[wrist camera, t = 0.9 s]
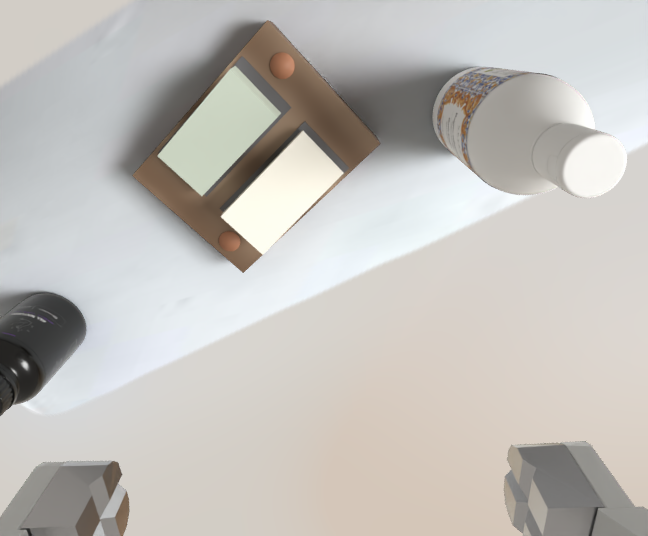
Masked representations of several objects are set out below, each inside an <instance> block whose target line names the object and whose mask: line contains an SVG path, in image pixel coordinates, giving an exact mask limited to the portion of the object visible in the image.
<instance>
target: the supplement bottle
mask: <svg viewBox="0 0 648 536" xmlns="http://www.w3.org/2000/svg"><path fill="white" fill-rule="evenodd" d="M85 335H86V323H85V319H84V317H83V315H82V313H81V312H80V310H79V309H78V308H77V307H76V306H75V305H74V304H73V303H72V302H70V301H69V300H67V299H65V298H63V297H61V296H58V295H55V294H50V293H40V294H35V295H32V296H30V297H28V298H26V299H25V300H23V301H22V302H21V303H19V304H18V305H17V306H15V307H14V308H13V309H12V310H10V311H9V312H8V313H6V314H5V315H4V316H3V317H1V318H0V416H1V415H2V414H3V413H4V412H5V411H6V410H7V409H9V408H10V407H11V406H12V405H14V404H20V403H23V402H26V401H28V400H30V399H32V398H33V397H34V396H36V395H37V394H38V393H39V392H40V391H41V390H42V388H43V387H44V386H45V385H46V384H47V383H48V382H49V380H50V379H51V378H52V377H53V376H54V375H55V374H56V372H57V371H58V370H59V369H60V368H61V367H62V366H63V364H64V363H65V362H66V361H67V360H68V359H69V358H70V357H71V355H72V354H73V353H74V352H75V351H76V350H77V348H78V347H79V346H80V345H81V343H82V342H83V340H84V338H85Z"/></svg>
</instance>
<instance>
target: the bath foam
mask: <svg viewBox="0 0 648 536" xmlns="http://www.w3.org/2000/svg"><path fill="white" fill-rule="evenodd" d="M433 126H434V130H435V133H436V135H437V137H438V139H439V140H440V142H441V143H442V144H443V145H444V146H445V147H446V148H447V149H448V150H449V151H450V152H451V153H452V154H453V155H455V156H456V157H457V158H458V159H459V160H460V161H461V162H462V163H464V164H465V165H466V166H467V167H468V168H469V169H470V170H472V171H473V172H474V173H475V174H476V175H477V176H478V177H480V178H481V179H482V180H483V181H484V182H485V183H487V184H488V185H490V186H492V187H494V188H496V189H498V190H501V191H504V192H507V193H511V194H516V195H534V194H541V193H545V192H548V191H551V190H554V189H556V188H558V187H559V188H561V189H562V190H564V191H566V192H567V193H569V194H571V195H573V196H576V197H580V198H592V197H597V196H599V195H602V194H604V193H606V192H607V191H609V190H610V189H612V188H613V187H614V186H615V185H616V184H617V183H618V182H619V180H620V179H621V177H622V175H623V173H624V171H625V168H626V162H627V155H626V151H625V148H624V146H623V145H622V143H621V142H620V141H619V140H618V139H617V138H615V137H614V136H612V135H610V134H607V133H604V132H601V131H597V130H595V125H594V118H593V115H592V112H591V109H590V107H589V105H588V104H587V102H586V100H585V99H584V98H583V96H582V95H581V94H580V93H579V92H578V91H577V90H576V89H575V88H573V87H572V86H571V85H569V84H568V83H566V82H564V81H563V80H560V79H558V78H556V77H554V76H551V75H547V74H540V73H532V72H524V71H516V70H508V69H500V68H492V67H474V68H470V69H467V70H464V71H462V72H460V73H458V74H456V75H455V76H454V77H452V78H451V79H450V80H449V81H448V82H447V83H446V84H445V85H444V86H443V88H442V89H441V90H440V92H439V94H438V96H437V98H436V101H435V104H434V108H433Z"/></svg>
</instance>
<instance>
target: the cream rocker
mask: <svg viewBox="0 0 648 536" xmlns="http://www.w3.org/2000/svg"><path fill="white" fill-rule="evenodd" d="M342 174H343V172H342V170H341V169H340V168H339V167H338V166H337V165H336V164H335V163H334V162H333V161H332V160H331V159H330V158H329V157H328V156H327V155H326V154H325V153H324V152H323V151H322V150H321V149H320V148H319V147H318V146H317V145H316V143H315V142H314V141H313V140H312V139H311V138H310V137H309V136H308V135H307V134H306V133H305V132H304V131H303V130H302V131H301V132H300V133H299V134H298V135H297V136H296V137H295V138H294V139H293V140H292V141H291V142H290V143H289V144H288V145H287V146H286V147H285V148H284V150H283V151H282V152H281V153H280V154H279V155H278V156H277V157H276V158H275V159H274V160H273V161H272V162H271V163H270V164H269V165H268V166H267V167H266V168H265V169H264V170H263V171H262V172H261V174H260V175H259V176H258V177H257V178H256V179H255V180H254V181H253V182H252V183H251V184H250V185H249V186H248V187H247V188H246V189H245V190H244V191H243V192H242V193H241V194H240V195H239V196H238V198H237V199H236V200H235V201H234V202H233V203H232V204H231V205H230V206H229V207H228V208H227V209H226V210H225V211H224V212H223V213H222V215H221V218H223V219H224V220H225V221H226V222H227V223H228V224H229V225H230V226H231V227H232V228H234V229H235V230H236V231H237V232H238V233H239V234H240V235H241V236H242V237H244V238H245V239H246V240H247V241H248V242H249V243H250V244H251V245H252V246H253V247H255V248H256V249H257V250H258V251H259V252H260V253H261V254H262V255H263V254H264V253H265V252H266V251H267V250H268V249H269V248H270V247H271V246H272V245H273V244H274V243H275V242H276V241H277V240H278V239H279V238H280V237H281V236H282V235H283V234H284V233H285V232H286V231H287V230H288V229H289V228H290V227H291V226H292V225H293V224H294V223H295V222H296V221H297V220H298V219H299V218H300V217H301V216H302V215H303V214H304V213H305V212H306V211H307V210H308V209H309V208H310V207H311V206H312V205H313V204H314V203H315V202H316V201H317V200H318V199H319V198H320V197H321V196H322V195H323V194H324V193H325V192H326V191H327V190H328V189H329V188H330V187H331V186H332V185H333V184H334V183H335V182H336V181H337V180H338V179H339V177H340V176H341V175H342Z"/></svg>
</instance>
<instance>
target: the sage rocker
mask: <svg viewBox="0 0 648 536" xmlns="http://www.w3.org/2000/svg"><path fill="white" fill-rule="evenodd" d="M280 114H281V112H280V111H279V110H278V109H277V108H276V107H275V106H274V105H273V104H272V103H271V102H270V101H269V100H268V99H267V98H266V97H265V96H264V95H263V94H262V93H261V92H260V91H259V90H258V89H257V88H256V87H255V86H254V85H253V83H252V82H251V81H250V80H249V79H248V78H247V77H246V76H245V75H244V74H243V73H242V72H241V71H240V70H239V69H238V68H237V67H236V66H234V67H233V68H231V69H230V70H229V71H228V72H227V73H226V74H225V76H224V77H223V78H222V79H221V80H220V82H219V83H218V84H217V85H216V86H215V88H214V89H213V90H212V91H211V92H210V94H209V95H208V96H207V97H206V98H205V100H204V101H203V102H202V103H201V104H200V106H199V107H198V108H197V109H196V110H195V111H194V113H193V114H192V115H191V116H190V117H189V119H188V120H187V121H186V122H185V123H184V125H183V126H182V127H181V128H180V129H179V131H178V132H177V133H176V134H175V135H174V137H173V138H172V139H171V140H170V141H169V143H168V144H167V145H166V146H165V147H164V149H163V150H162V151H161V152H160V153H159V154H158V157H159V158H160V159H161V160H162V161H163V162H164V163H166V164H167V165H168V166H169V167H170V168H171V169H172V170H173V171H174V172H176V173H177V174H178V175H179V176H180V177H181V178H182V179H183V180H184V181H185V182H187V183H188V184H189V185H190V186H191V187H192V188H193V189H194V190H195V191H196V192H198V193H199V194H200V195H201V196H203V195H204V194H205V193H206V192H207V191H208V190H209V189H210V187H211V186H212V185H213V184H214V183H215V182H216V181H217V180H218V179H219V178H220V177H221V176H222V175H223V174H224V173H225V172H226V171H227V170H228V169H229V168H230V167H231V166H232V164H233V163H234V162H235V161H236V160H237V159H238V158H239V157H240V156H241V155H242V154H243V153H244V152H245V151H246V150H247V149H248V148H249V147H250V146H251V145H252V144H253V142H254V141H255V140H256V139H257V138H258V137H259V136H260V135H261V134H262V133H263V132H264V131H265V130H266V129H267V128H268V127H269V126H270V125H271V124H272V123H273V122H274V121H275V119H276V118H277V117H278V116H279V115H280Z"/></svg>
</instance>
